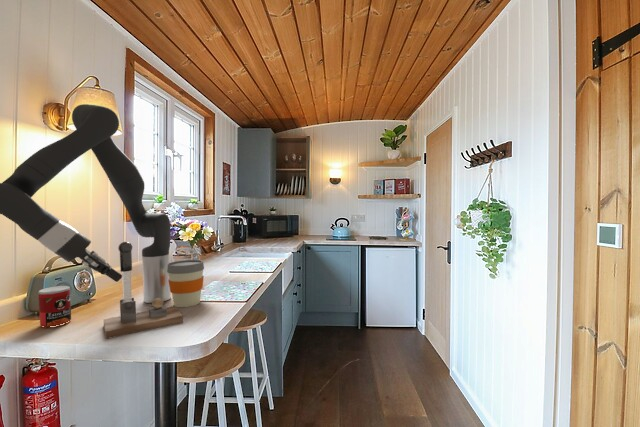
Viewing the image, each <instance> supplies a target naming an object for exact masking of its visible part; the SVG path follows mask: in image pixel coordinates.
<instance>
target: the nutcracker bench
mask: <svg viewBox="0 0 640 427" xmlns="http://www.w3.org/2000/svg"><path fill="white" fill-rule="evenodd" d="M122 301H123V298H122V299H119V310H120V312H119V314H120V315H119V316H114V317H110V318H104V319H103V329H104V335H105V336H106V337H105V339H106V338H107V339H110V338H109V337H112V338H115V337H114V336H116V337H121V336H124V335H130V334H134V333H139V332H144V331H149V330H154V329H157V328H162V327H163V328H164V327H167V326H172V325H176V324H181V323H183V322H184V316H183V314H182V313H181V312H180V310H178V309H177V307H176V306H174V305H173V306H167V307H166V306H165V305H164V301H163V300H162V299H160V298H156V299H154V300H153V301H152V303H151V307H149V308H148V310H147V311H142V312H137V306H136V305H137V304H136V303H137V302H136V300H135V299H134V297H132V301H130V302H124V303H122ZM120 335H121V336H120Z"/></svg>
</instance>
